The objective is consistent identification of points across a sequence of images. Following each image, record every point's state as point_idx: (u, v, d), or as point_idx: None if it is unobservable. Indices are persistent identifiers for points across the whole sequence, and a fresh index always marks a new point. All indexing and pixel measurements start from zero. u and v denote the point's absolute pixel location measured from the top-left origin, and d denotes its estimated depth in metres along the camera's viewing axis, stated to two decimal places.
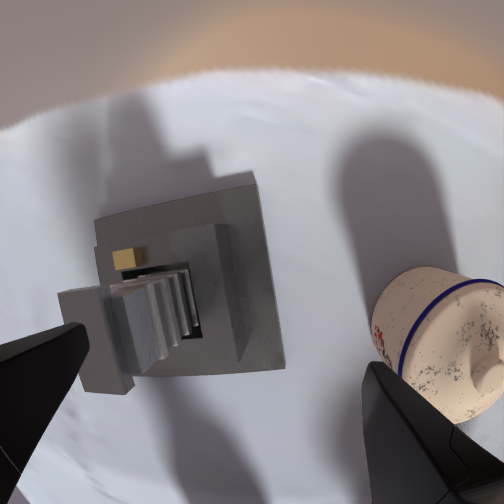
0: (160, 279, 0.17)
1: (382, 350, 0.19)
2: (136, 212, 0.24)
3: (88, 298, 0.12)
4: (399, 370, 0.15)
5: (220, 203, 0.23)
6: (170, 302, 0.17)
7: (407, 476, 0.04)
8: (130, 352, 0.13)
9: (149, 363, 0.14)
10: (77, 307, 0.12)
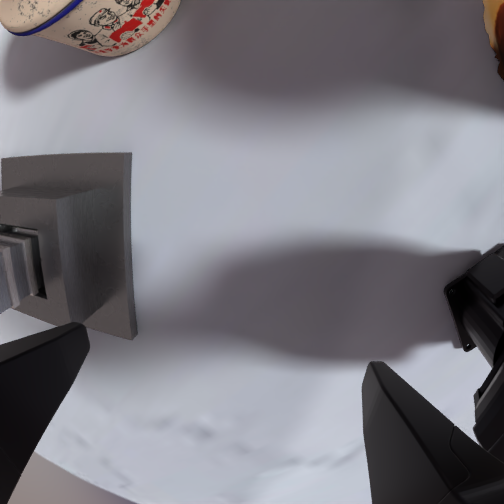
0: None
1: (92, 43, 0.14)
2: None
3: None
4: (30, 32, 0.09)
5: (7, 189, 0.21)
6: None
7: (407, 476, 0.04)
8: None
9: None
10: None
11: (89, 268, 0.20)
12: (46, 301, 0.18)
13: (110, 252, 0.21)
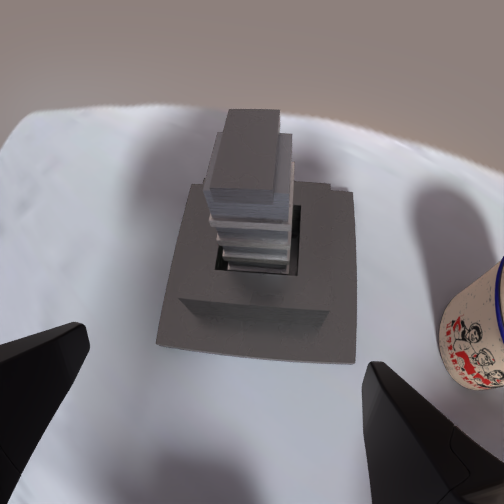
0: None
1: (461, 333, 0.17)
2: None
3: (267, 114, 0.14)
4: (497, 301, 0.13)
5: None
6: (292, 207, 0.18)
7: (407, 476, 0.04)
8: (283, 173, 0.13)
9: (288, 202, 0.14)
10: (249, 118, 0.14)
11: (241, 316, 0.21)
12: (212, 266, 0.19)
13: (255, 339, 0.21)
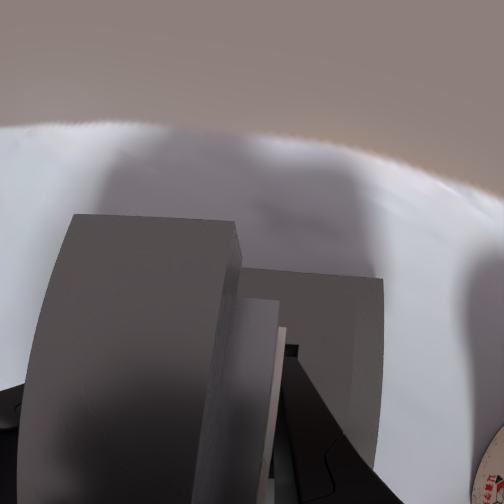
0: None
1: None
2: None
3: (183, 245, 0.04)
4: None
5: (332, 291, 0.16)
6: None
7: (284, 479, 0.05)
8: (234, 477, 0.03)
9: None
10: (117, 266, 0.04)
11: None
12: None
13: None
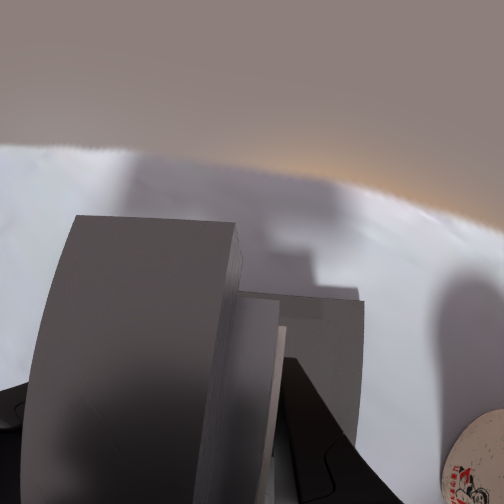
0: None
1: (467, 487, 0.11)
2: None
3: (184, 246, 0.04)
4: None
5: (321, 311, 0.19)
6: None
7: (284, 479, 0.05)
8: (235, 475, 0.03)
9: None
10: (120, 267, 0.04)
11: None
12: None
13: None
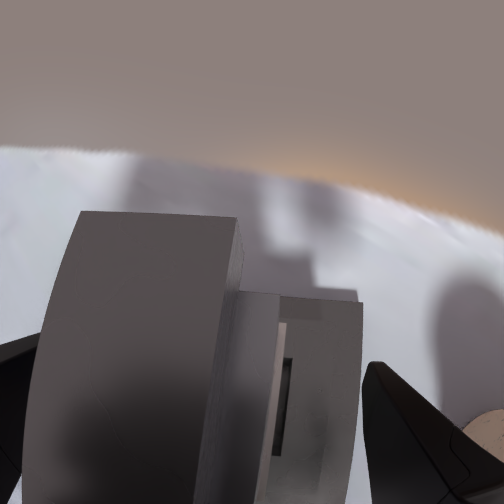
0: None
1: None
2: None
3: (188, 240, 0.04)
4: None
5: (321, 313, 0.20)
6: None
7: (407, 476, 0.04)
8: (236, 467, 0.03)
9: None
10: (125, 260, 0.04)
11: None
12: None
13: None
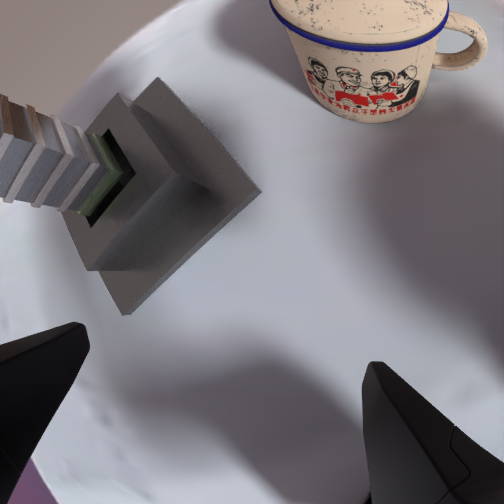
0: (24, 108, 0.13)
1: (317, 80, 0.16)
2: None
3: None
4: (287, 24, 0.11)
5: (139, 105, 0.23)
6: (33, 118, 0.12)
7: (407, 476, 0.04)
8: None
9: None
10: None
11: (145, 239, 0.21)
12: (88, 228, 0.19)
13: (172, 244, 0.21)
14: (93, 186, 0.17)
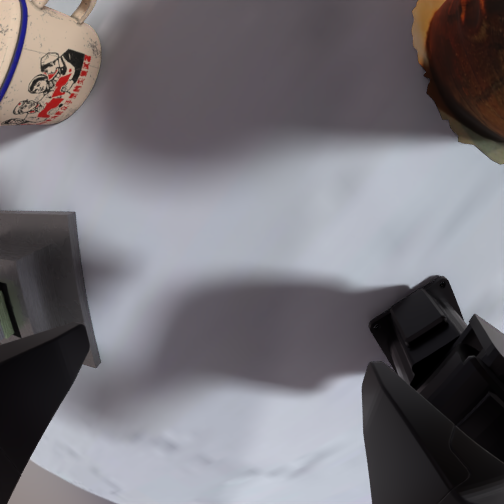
0: None
1: (25, 123, 0.16)
2: None
3: None
4: None
5: None
6: None
7: (407, 476, 0.04)
8: None
9: None
10: None
11: (53, 311, 0.22)
12: None
13: (68, 297, 0.23)
14: None
